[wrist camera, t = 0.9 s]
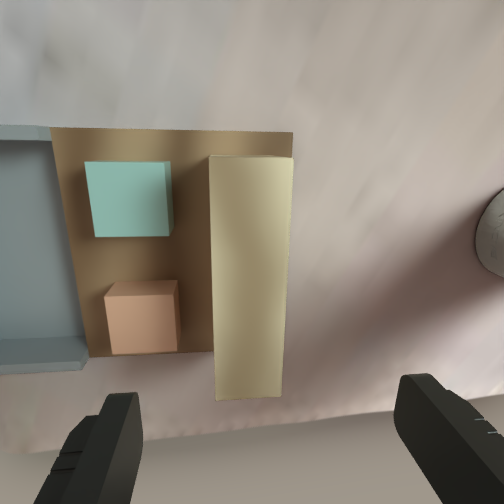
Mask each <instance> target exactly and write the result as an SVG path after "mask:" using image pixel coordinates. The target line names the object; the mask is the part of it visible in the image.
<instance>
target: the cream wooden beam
mask: <svg viewBox="0 0 504 504" xmlns="http://www.w3.org/2000/svg"><path fill="white" fill-rule="evenodd" d="M293 165H294V158H288V157H280V156H271V155H210V156H209V186H210V223H211V260H212V297H213V333H214V370H215V401H222V400H237V399H251V398H266V397H281V388H282V369H283V351H284V332H285V313H286V295H287V276H288V258H289V239H290V220H291V202H292V183H293Z"/></svg>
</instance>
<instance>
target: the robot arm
mask: <svg viewBox="0 0 504 504" xmlns="http://www.w3.org/2000/svg"><path fill="white" fill-rule="evenodd" d="M475 242H476V251H477V254H478V258H479V260H480V261H481V263H482V264H483V266H484V267H486V268H487V269H488V270H489V271H490V272H493V273H495V274H497V275H499V276H501V277H503V278H504V190H502V191H501V192H500V193H499V194H498V195H497V196H496V197H495V198H494V199H493V200H492V202H491V203H490V204H489V205H488V207H487V208H486V210H485V212H484V213H483V215H482V217H481V219H480V222H479V225H478V228H477V232H476V239H475ZM394 423H395V427H396V430H397V432H398V434H399V436H400V438H401V439H402V441H403V442H404V444H405V446H406V447H407V449H408V450H409V452H410V453H411V455H412V456H413V458H414V459H415V461H416V463H417V464H418V466H419V467H420V469H421V470H422V472H423V473H424V475H425V477H426V478H427V480H428V481H429V483H430V484H431V486H432V488H433V489H434V491H435V492H436V494H437V495H438V497H439V498H440V500H441V502H442V503H443V504H504V437H503V436H502V435H501V434H498V433H497V430H496V429H495V428H494V427H493V426H492V425H491V424H490V423H489V422H488V421H485V420H484V417H483V416H482V415H481V414H480V413H479V412H478V411H477V410H476V409H475V408H474V407H473V406H472V405H471V404H470V403H469V402H467V401H466V400H464V399H463V398H461V397H460V396H458V395H457V394H455V393H453V392H452V391H450V390H446V389H445V388H444V387H443V386H442V385H441V384H440V383H439V382H438V381H437V380H436V379H435V378H434V377H433V376H432V375H430V374H428V373H424V374H409V375H403V376H402V377H401V379H400V383H399V388H398V393H397V398H396V404H395V409H394ZM142 447H143V429H142V421H141V413H140V405H139V397H138V393H137V392H130V393H115V394H109V395H108V396H107V397H106V399H105V402H104V404H103V406H102V409H101V411H100V413H99V415H92V416H86V417H85V418H84V419H83V420H82V421H81V422H80V423H79V424H78V425H77V426H76V427H75V428H74V429H73V430H72V431H71V432H70V433H69V435H68V437H67V439H66V441H65V443H64V445H63V447H62V449H61V451H60V454H59V457H57V459H56V461H55V463H54V464H53V467H52V468H51V472H50V475H48V476H47V478H46V480H45V482H44V484H43V486H42V488H41V490H40V492H39V494H38V496H37V498H36V500H35V501H34V504H130V501H131V497H132V492H133V488H134V485H135V480H136V476H137V472H138V468H139V464H140V460H141V454H142Z"/></svg>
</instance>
